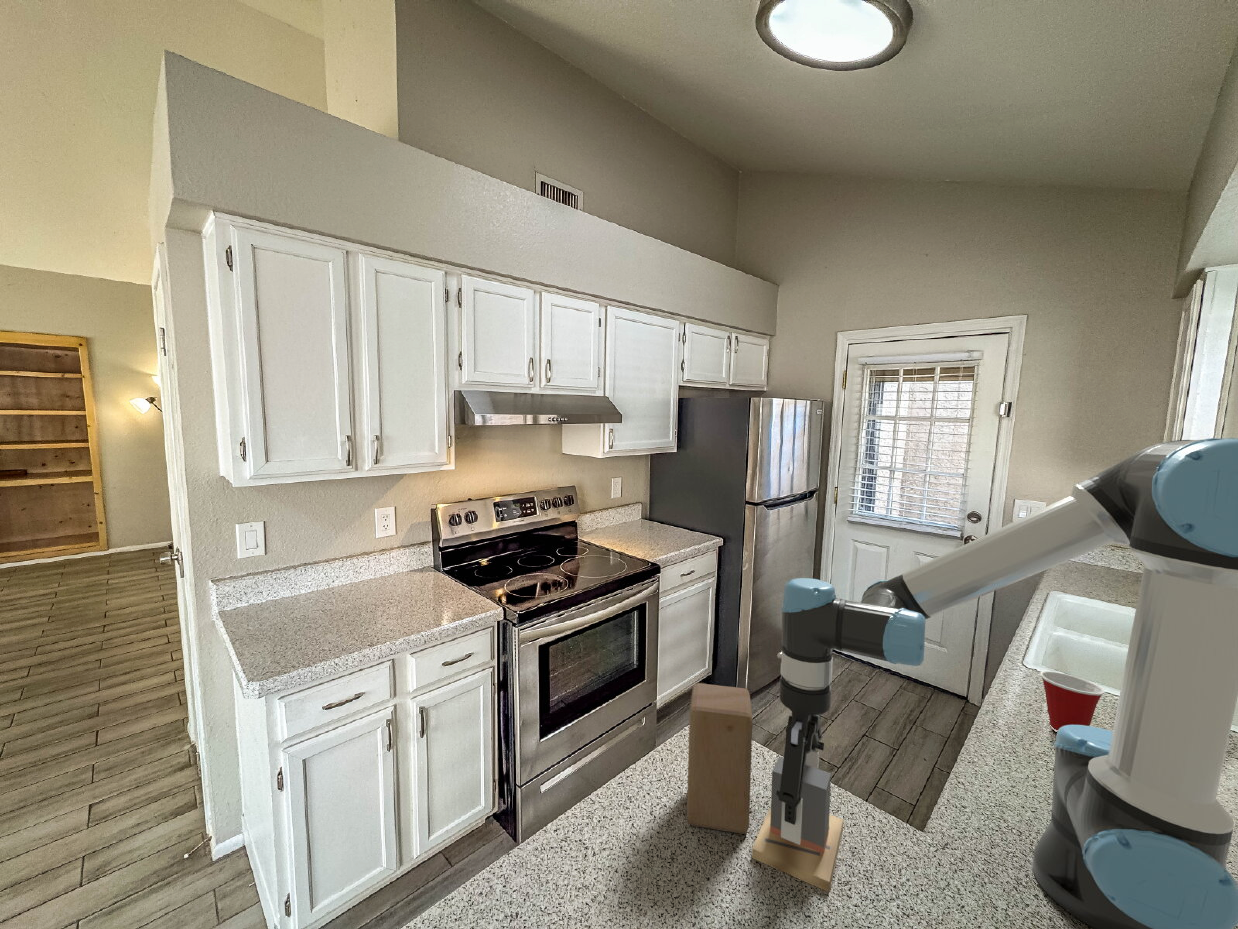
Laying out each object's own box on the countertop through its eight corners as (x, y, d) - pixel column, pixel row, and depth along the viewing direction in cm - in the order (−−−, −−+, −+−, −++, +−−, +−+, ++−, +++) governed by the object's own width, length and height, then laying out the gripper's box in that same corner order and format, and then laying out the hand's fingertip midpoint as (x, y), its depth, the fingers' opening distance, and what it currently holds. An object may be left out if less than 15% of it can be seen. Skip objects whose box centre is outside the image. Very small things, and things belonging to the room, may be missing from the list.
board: (842, 828, 84) (843, 819, 84) (829, 892, 72) (829, 882, 72) (775, 802, 89) (775, 794, 89) (752, 858, 77) (752, 848, 77)
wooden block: (749, 838, 81) (753, 716, 80) (686, 827, 83) (689, 708, 82) (746, 795, 91) (749, 686, 90) (690, 787, 93) (692, 680, 92)
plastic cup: (1114, 743, 110) (1118, 688, 109) (1079, 750, 107) (1082, 695, 106) (1058, 716, 120) (1061, 667, 119) (1025, 723, 117) (1028, 672, 116)
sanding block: (828, 834, 80) (831, 773, 80) (823, 854, 77) (826, 789, 76) (777, 814, 85) (779, 756, 84) (770, 832, 81) (772, 771, 80)
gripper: (797, 647, 92) (793, 761, 93) (759, 707, 71) (754, 855, 72) (842, 657, 88) (837, 776, 89) (816, 724, 67) (810, 879, 68)
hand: (800, 811), depth 80 cm, fingers open, 13 cm apart
